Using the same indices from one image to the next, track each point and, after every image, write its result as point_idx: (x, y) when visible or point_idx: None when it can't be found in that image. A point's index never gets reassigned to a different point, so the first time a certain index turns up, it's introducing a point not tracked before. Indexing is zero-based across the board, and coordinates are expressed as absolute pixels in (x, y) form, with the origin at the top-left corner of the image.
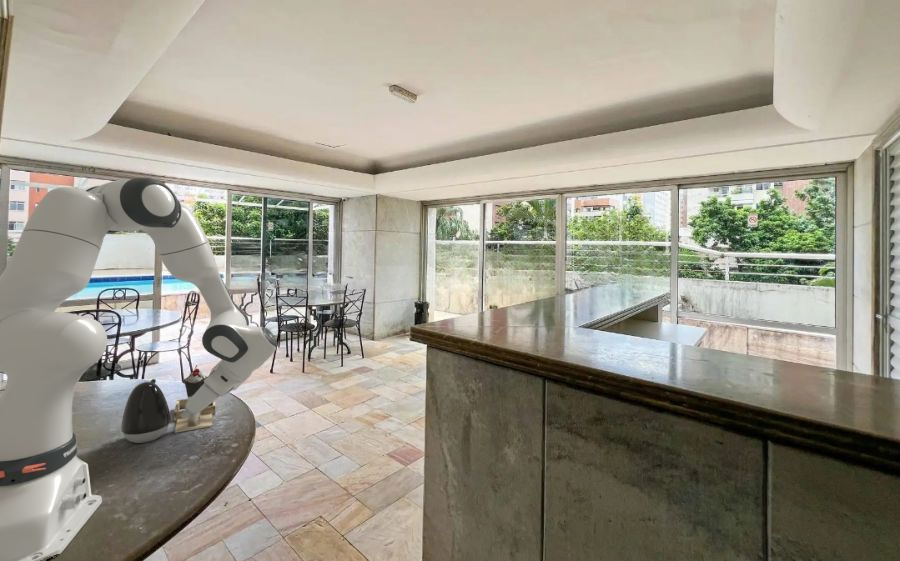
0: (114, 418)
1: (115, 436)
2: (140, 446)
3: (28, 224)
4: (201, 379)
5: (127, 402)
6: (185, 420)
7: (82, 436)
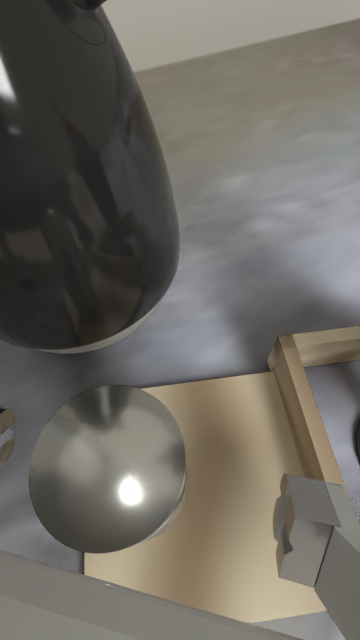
0: (340, 161)
1: None
2: None
3: None
4: None
5: None
6: (231, 422)
7: (201, 137)
